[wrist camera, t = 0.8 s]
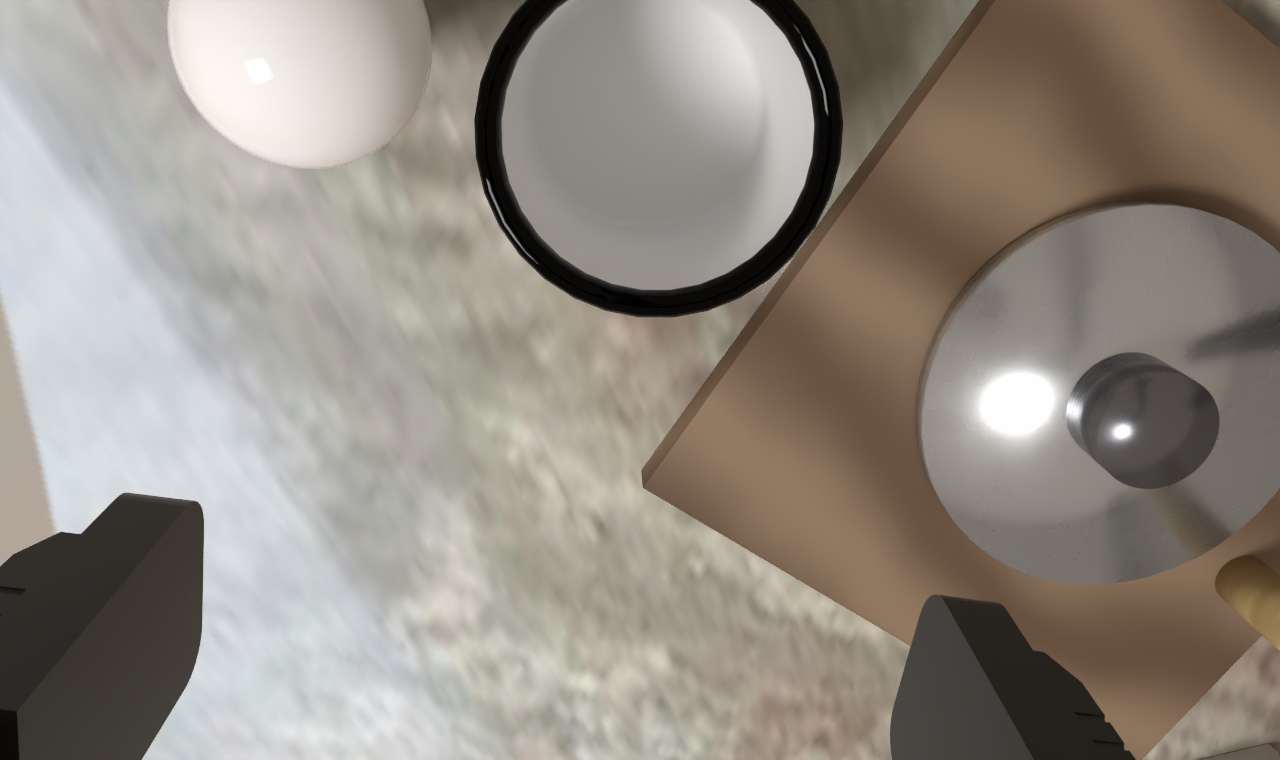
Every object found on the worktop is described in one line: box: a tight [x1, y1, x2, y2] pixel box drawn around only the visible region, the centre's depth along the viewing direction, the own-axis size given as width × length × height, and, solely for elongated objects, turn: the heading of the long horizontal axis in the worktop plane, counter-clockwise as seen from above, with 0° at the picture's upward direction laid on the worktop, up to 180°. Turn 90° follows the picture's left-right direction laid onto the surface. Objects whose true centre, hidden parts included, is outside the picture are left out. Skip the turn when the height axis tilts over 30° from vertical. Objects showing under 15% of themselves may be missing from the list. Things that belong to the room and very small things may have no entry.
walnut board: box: [641, 0, 1280, 760], centre depth 36 cm, size 24×24×6 cm
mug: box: [474, 0, 843, 317], centre depth 30 cm, size 12×10×9 cm
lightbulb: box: [167, 0, 432, 169], centre depth 29 cm, size 6×6×11 cm
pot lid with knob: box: [915, 201, 1280, 585], centre depth 35 cm, size 19×14×5 cm
